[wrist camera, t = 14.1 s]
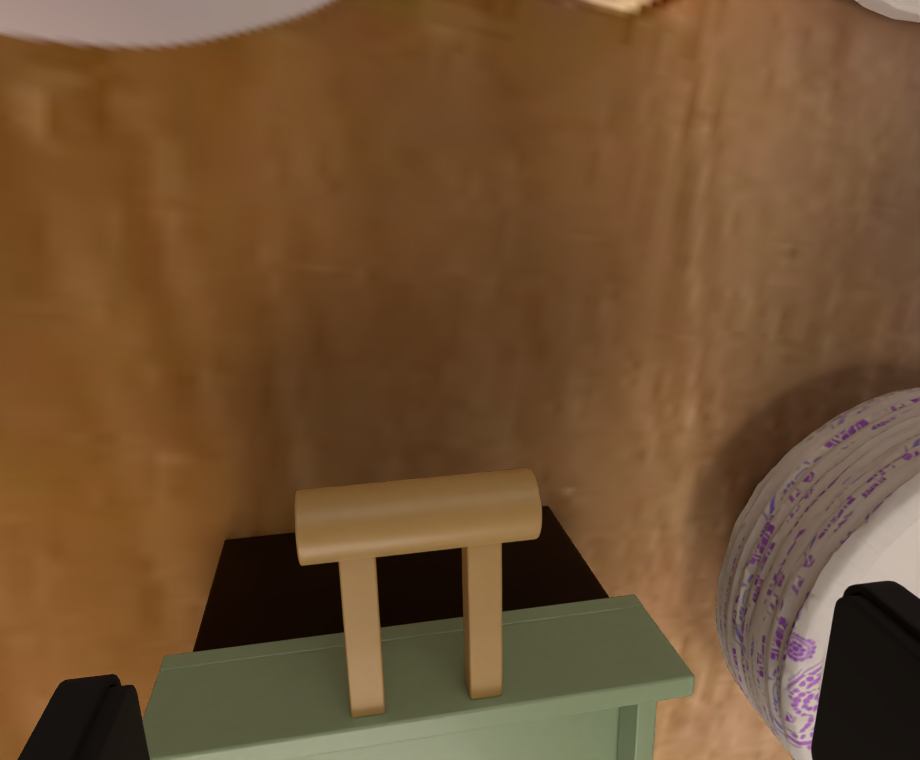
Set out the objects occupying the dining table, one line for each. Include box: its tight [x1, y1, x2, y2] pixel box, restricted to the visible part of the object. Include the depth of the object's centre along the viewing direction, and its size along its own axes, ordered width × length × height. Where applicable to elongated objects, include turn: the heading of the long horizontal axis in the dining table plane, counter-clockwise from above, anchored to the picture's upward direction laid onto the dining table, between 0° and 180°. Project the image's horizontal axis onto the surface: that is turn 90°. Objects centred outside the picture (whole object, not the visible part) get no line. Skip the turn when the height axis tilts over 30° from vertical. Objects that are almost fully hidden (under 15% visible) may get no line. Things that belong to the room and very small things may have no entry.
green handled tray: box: [142, 468, 695, 760], centre depth 18 cm, size 13×14×4 cm
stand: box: [193, 506, 609, 652], centre depth 23 cm, size 17×9×8 cm, turn 92°
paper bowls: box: [716, 387, 920, 760], centre depth 26 cm, size 15×15×8 cm
